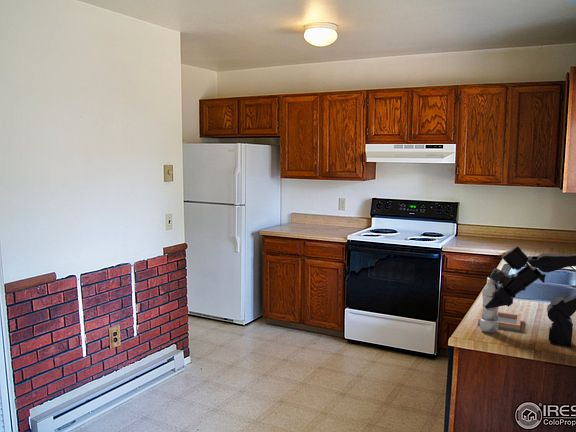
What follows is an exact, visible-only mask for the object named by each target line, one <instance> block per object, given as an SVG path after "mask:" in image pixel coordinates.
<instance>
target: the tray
mask: <svg viewBox="0 0 576 432" xmlns="http://www.w3.org/2000/svg"><path fill="white" fill-rule="evenodd" d="M482 310H483V308H482V309H480V312H479V315H478V319H477V326H480V320H481V316H482ZM498 322H499V327H498V330H499V329H500V330H506V331H514V332H520V331H521V314H518V313H510V312H505V311H498Z"/></svg>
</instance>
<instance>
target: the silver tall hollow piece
mask: <svg viewBox="0 0 576 432" xmlns="http://www.w3.org/2000/svg"><path fill="white" fill-rule="evenodd" d="M497 284H498V281H497V280H495V279H492V278H491V277H490V276H487V278H486V285H485V286H484V287H483V288H482V290H481V294H482V309H483V310H482V316H481V320H480V325H479V328H480V330H481V331H482V332H484V333H491V334H493V333H496V332H498V331H499V328H498V327H499V322H498V312H499V307H494V308H489V309H486V308H485V306H486V305H487V304H488V302H489V301H490V300H491V299H492V298H493V297H494V296H495V290H497V289H498V288H499V287H498V286H497ZM498 285H499V284H498Z"/></svg>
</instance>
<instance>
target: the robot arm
mask: <svg viewBox="0 0 576 432" xmlns="http://www.w3.org/2000/svg"><path fill="white" fill-rule="evenodd" d="M501 259H502V260H504V262H505V263H506V264H507V265H508V266H509V267H510V268H511V270H517V271H518V272H516V273H512V274H511V275H509V274H508V273H506V272H504V271H503V270H501V269H499V268H497V267H494V269H493V270H492V272H491V274H490V276H489V277H491V278H492V279H495V280H497V281H498V284H497V286H498V287H499V288H498V289H497V290H495V296H494V297H493V298H492V299H491V300H490V301H489V302H488V304H487V305H486V306H485V308H486V309H489V308H494V307H498V308H499V307H503V306H507V307H510V306H511V305H513V304H514V299H515V297H517V295H518V294H519V293H521V292H522V291H523V292H524V291H526V289H527V288H528V287H529V286H531V285H532V284H533V283H535V282H537V280H540V282H541V283H545V280H546V277H547V275H546V273H551V272H554V271H560V270H562V269H565V268H568V267H570V268H571V267H576V253H573V254H572V253H571V254H569V253H568V254H560V253H549V252H547V253H546V252H545V253H540V254H539V255H535V256H534V255H531V256H530V255H529V256H528V255H527V254H526V253H524V250H522V248H521V247H520V246H519V245H516V246H515V247H513V248H512V249H510V250H508V251H507V252H506V253H504V254H503V255H502V256H501ZM542 272H543V273H542ZM546 313H547V317H548V319H549V320H550V322H551V325H550V326H549V329H548V337H547V338H548V341H549V343H550V344H551V345H555V346H560V347H561V346H562V347H567V348H572V347H573V344H572V341H573V330H574V329H573V328H574V327H573V326H574V324H573V320H572V316H573V314H575V313H576V294H575V295H573V296H571V297H568V298H563V296H562V295H560V296H558V298H556V299H554V300H550V303H549V304H547V307H546Z"/></svg>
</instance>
